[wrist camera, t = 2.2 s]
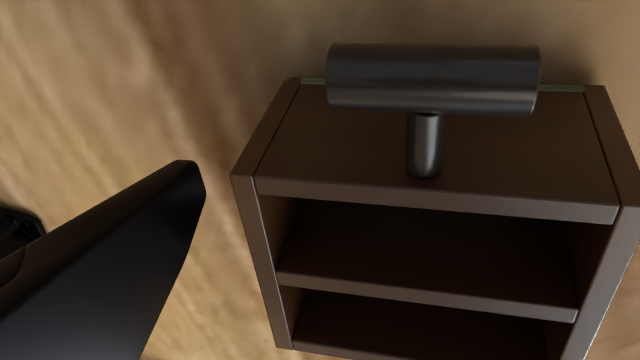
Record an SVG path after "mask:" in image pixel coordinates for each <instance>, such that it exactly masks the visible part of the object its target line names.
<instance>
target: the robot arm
mask: <svg viewBox="0 0 640 360" xmlns="http://www.w3.org/2000/svg"><path fill="white" fill-rule="evenodd" d="M205 199H206V190H205V186H204V183H203V180H202V177H201V174H200V170H199V167H198V165H197V163H196V162H194V161H192V160H175V161H173V162H171V163H170V164H168V165H166V166H164V167H163V168H161V169H159V170H157V171H156V172H154V173H152V174H150V175H149V176H147V177H145V178H143V179H142V180H140V181H138V182H136V183H135V184H133V185H131V186H129V187H128V188H126V189H124V190H122V191H121V192H119V193H117V194H115V195H114V196H112V197H110V198H108V199H107V200H105V201H103V202H101V203H100V204H98V205H96V206H94V207H93V208H91V209H89V210H87V211H86V212H84V213H82V214H80V215H79V216H77V217H75V218H73V219H72V220H70V221H68V222H66V223H65V224H63V225H61V226H59V227H58V228H56V229H54V230H52V231H51V232H49V233H47V234H46V232H45V229H44V227H43V225H42V223H41V221H40V220H39V219H38V218H36V217H35V216H32V215H28V214H23V213H19V212H15V211H11V210H7V209H3V208H0V360H139V358H140V356H141V354H142V352H143V350H144V348H145V346H146V343H147V341H148V339H149V337H150V335H151V333H152V331H153V328H154V326H155V324H156V322H157V320H158V318H159V315H160V313H161V311H162V309H163V307H164V305H165V303H166V300H167V298H168V296H169V294H170V292H171V290H172V288H173V285H174V283H175V281H176V279H177V277H178V275H179V272H180V270H181V268H182V266H183V264H184V261H185V259H186V256H187V253H188V251H189V248H190V245H191V242H192V239H193V236H194V233H195V230H196V227H197V224H198V221H199V218H200V215H201V212H202V209H203V206H204V203H205Z"/></svg>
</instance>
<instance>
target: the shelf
mask: <svg viewBox="0 0 640 360" xmlns="http://www.w3.org/2000/svg"><path fill="white" fill-rule="evenodd" d="M540 74H541V53H540V48H539V46H538V45H536V44H440V43H333V44H331V46H330V48H329V51H328V54H327V59H326V67H325V78H298V77H286V78H285V80H284V81H283V83H282V85H281V87H280V88H279V90H278V92H277V94H276V95H275V97H274V99H273V100H272V102H271V104H270V105H269V107H268V109H267V111H266V112H265V114H264V116H263V117H262V119H261V121H260V123H259V124H258V126H257V128H256V129H255V131H254V133H253V135H252V136H251V138H250V140H249V141H248V143H247V145H246V147H245V148H244V150H243V152H242V153H241V155H240V157H239V159H238V160H237V162H236V164H235V165H234V167H233V169H232V171H231V172H230V174H229V176H230V180H231V183H232V187H233V191H234V194H235V198H236V202H237V205H238V209H239V212H240V216H241V220H242V223H243V227H244V231H245V234H246V238H247V242H248V245H249V249H250V253H251V256H252V260H253V264H254V267H255V271H256V275H257V278H258V282H259V286H260V289H261V293H262V296H263V300H264V304H265V307H266V311H267V315H268V318H269V322H270V326H271V329H272V333H273V337H274V340H275V344H276V347H277V348H282V349H289V350H293V349H294V350H297V351H303V352H309V353H315V354H321V355H327V356H333V357H339V358H345V359H352V360H584V359H585V357H586V355H587V353H588V351H589V349H590V347H591V344H592V342H593V340H594V338H595V336H596V334H597V332H598V329H599V327H600V325H601V323H602V321H603V319H604V317H605V314H606V312H607V310H608V308H609V306H610V304H611V302H612V300H613V297H614V295H615V293H616V291H617V289H618V287H619V285H620V282H621V280H622V278H623V276H624V274H625V272H626V270H627V267H628V265H629V263H630V261H631V259H632V257H633V255H634V252H635V250H636V248H637V246H638V244H639V242H640V170H639V167H638V165H637V162H636V160H635V158H634V155H633V153H632V150H631V148H630V146H629V143H628V141H627V138H626V136H625V134H624V131H623V129H622V126H621V124H620V122H619V119H618V117H617V115H616V112H615V110H614V107H613V105H612V103H611V100H610V98H609V95H608V93H607V90H606V88H605V86H604V85H568V84H540Z"/></svg>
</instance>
